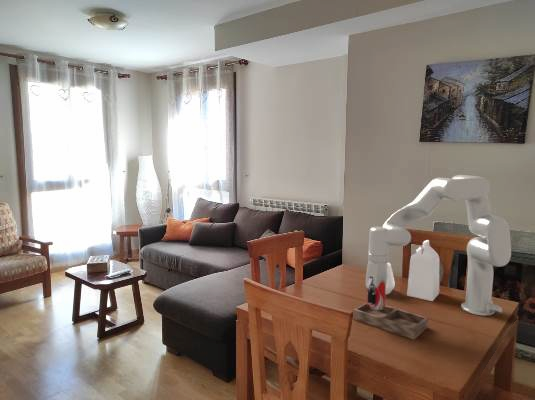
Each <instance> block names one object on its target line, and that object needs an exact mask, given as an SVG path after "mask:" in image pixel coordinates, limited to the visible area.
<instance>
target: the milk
mask: <svg viewBox="0 0 535 400" xmlns="http://www.w3.org/2000/svg"><path fill="white" fill-rule="evenodd" d="M415 251H416V252H414V253H413V254H412V255H411V256H410V261H409V269H408V280H407V290H406V291H407V292H406V296H408V297H413V298H417V299H421V300H426V301H430V302H433V301H434V300H435V299H436V298H437V296H439V294H440V256H439V253H437V252H436V251H435V249H434V248H433V247H431V245H430V240H429V239H426V240H424V241H423V242H422V246H419V247H418V248H417V249H416V250H415Z"/></svg>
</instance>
